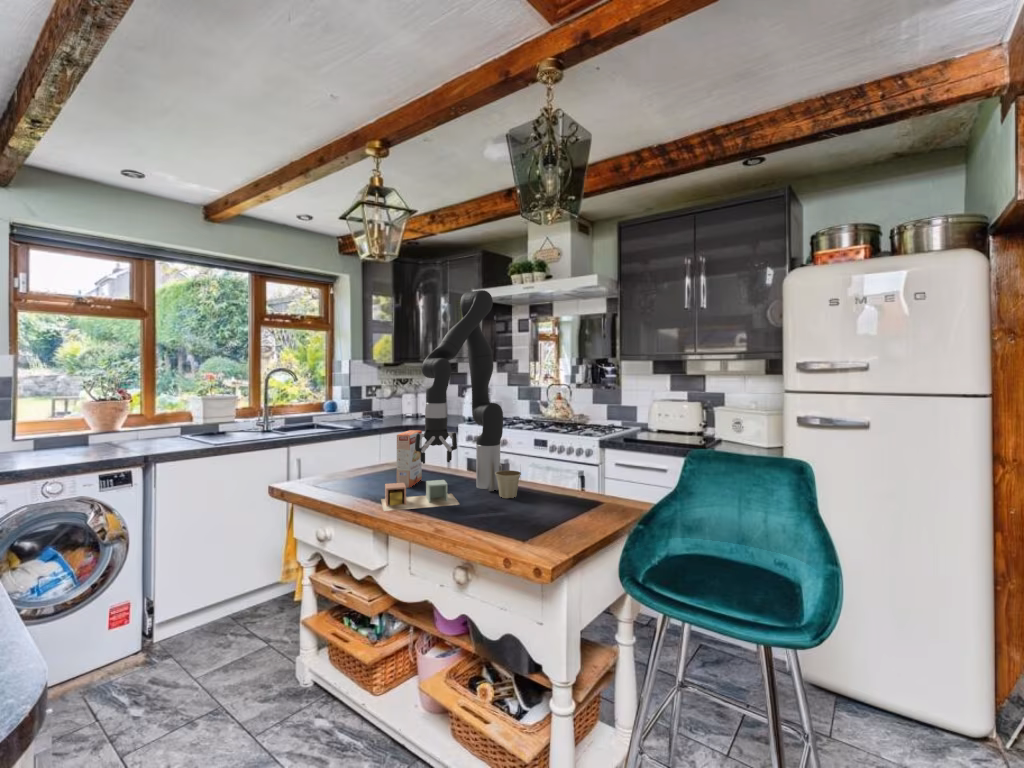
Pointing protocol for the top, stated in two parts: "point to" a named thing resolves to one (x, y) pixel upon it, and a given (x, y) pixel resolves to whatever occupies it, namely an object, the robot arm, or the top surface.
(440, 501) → the board
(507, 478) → the flower pot
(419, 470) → the cracker box
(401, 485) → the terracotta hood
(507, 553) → the top surface
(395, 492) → the letter cube
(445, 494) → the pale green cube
